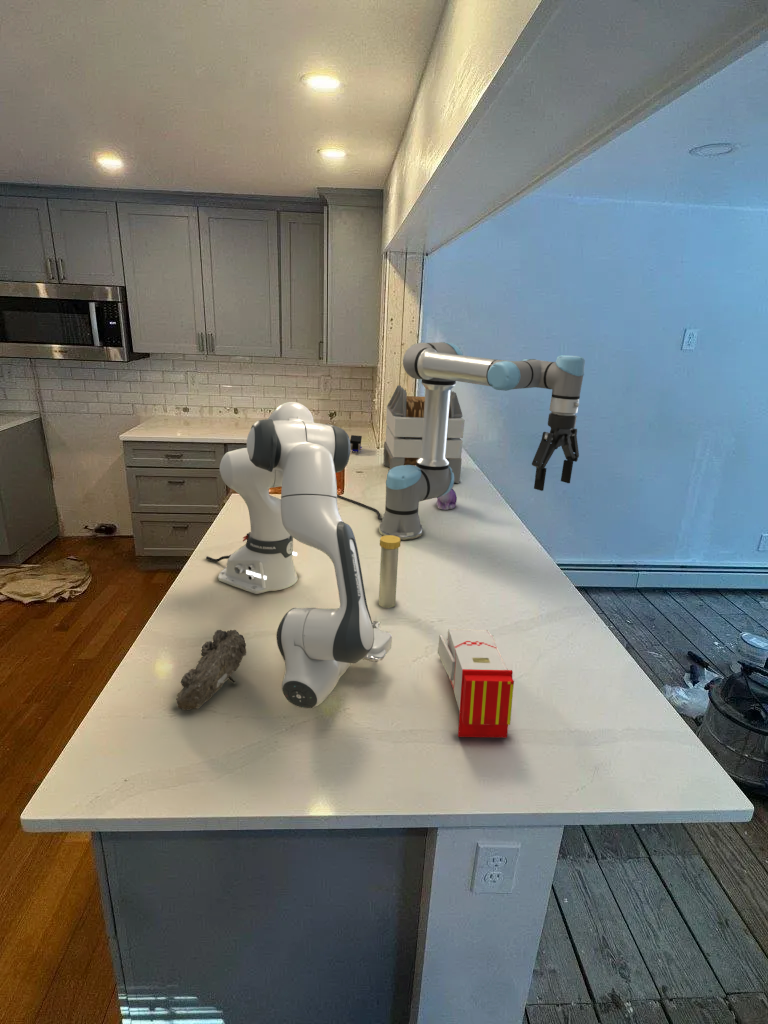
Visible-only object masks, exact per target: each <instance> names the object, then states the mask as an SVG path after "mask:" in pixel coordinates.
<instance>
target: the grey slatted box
mask: <svg viewBox="0 0 768 1024" xmlns="http://www.w3.org/2000/svg"><path fill="white" fill-rule="evenodd" d="M407 394H408V393H407V390H406V389H404V388H403V387H402V385H399V384H398V385H397V386H396V388H395V390H394V392H393V394H392V395H391V398H390V400H389V402H388V404H387V405H386V413H385V414H386V415H385V423H386V428H385V438H384V442H383V466H384V467H388V468H389V470H390V469H392V468H394V467H396V466H401V465H404V466H405V465H413V466H416V461H417V459H418V458H420V457H421V449H422V434H423V419H424V404H425V396H415V395H414V396H413V395H412V396H411V395H407ZM464 429H465V419H464V418H463V411H462V408H461V405H460V402H459V398H458V395H457V392H455V391H453V390H451V392H450V404H449V416H448V428H447V441H446V453H445V458H446V459H447V461H448V462H449V466H450V467H451V469H452V473H454V484H455V483H456V484H459V483H461V472H462V461H463V460H462V453H463V442H464V441H463V440H462V439H463V438H464V431H465V430H464Z"/></svg>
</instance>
